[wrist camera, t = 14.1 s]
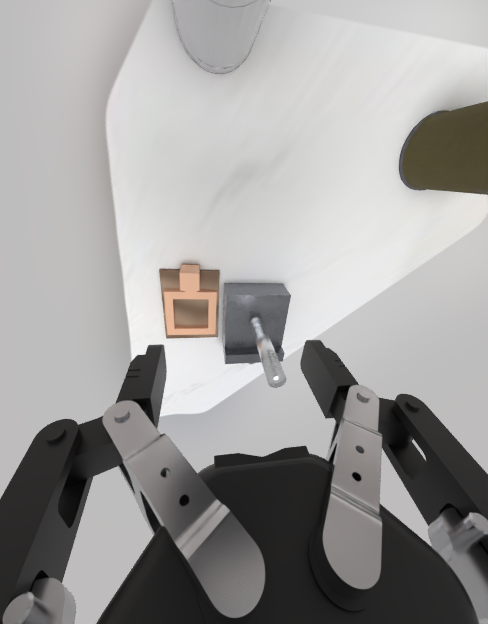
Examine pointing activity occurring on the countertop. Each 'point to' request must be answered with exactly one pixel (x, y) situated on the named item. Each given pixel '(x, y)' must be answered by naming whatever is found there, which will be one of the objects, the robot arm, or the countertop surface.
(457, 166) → the canister
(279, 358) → the block
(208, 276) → the board
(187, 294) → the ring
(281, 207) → the countertop surface
